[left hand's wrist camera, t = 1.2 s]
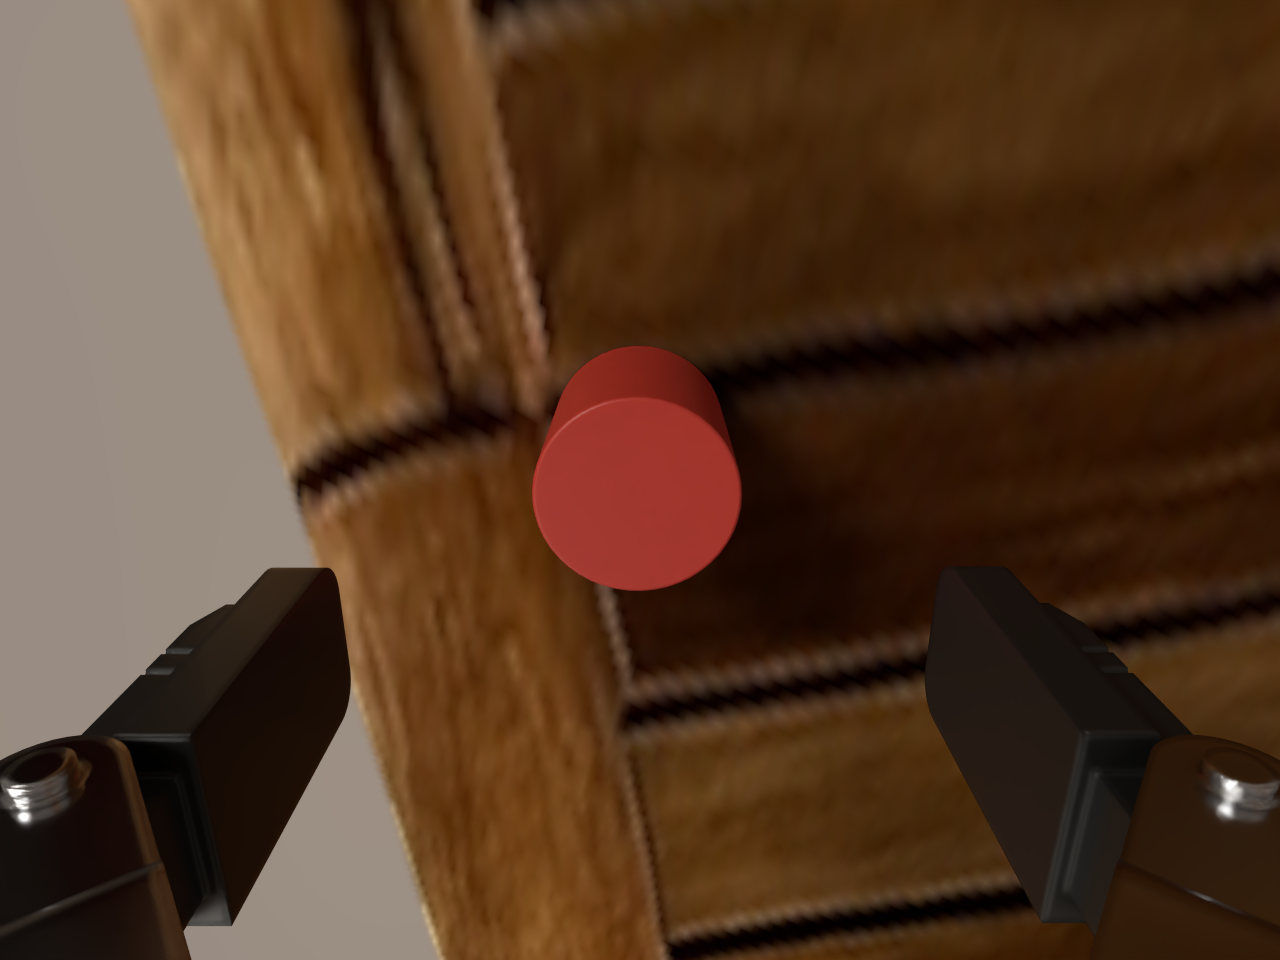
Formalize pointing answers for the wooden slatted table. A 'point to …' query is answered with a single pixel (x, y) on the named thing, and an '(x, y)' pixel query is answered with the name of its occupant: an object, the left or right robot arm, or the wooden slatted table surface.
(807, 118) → the wooden slatted table surface
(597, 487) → the canister
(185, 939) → the left robot arm
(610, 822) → the wooden slatted table surface
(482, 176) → the wooden slatted table surface
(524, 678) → the wooden slatted table surface
